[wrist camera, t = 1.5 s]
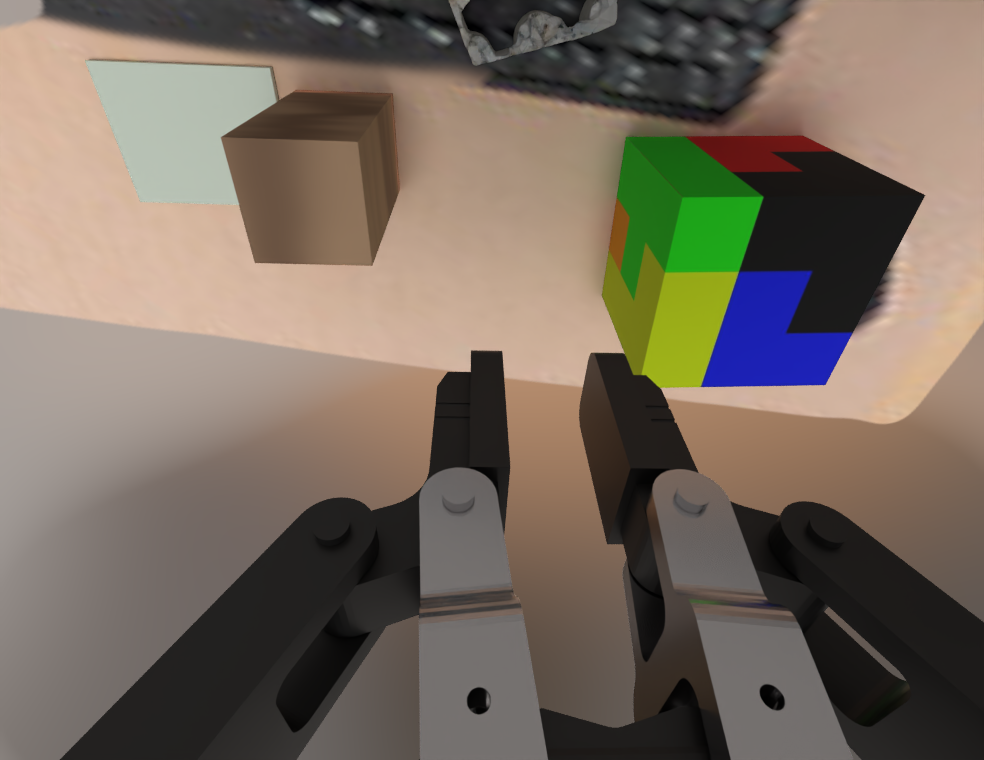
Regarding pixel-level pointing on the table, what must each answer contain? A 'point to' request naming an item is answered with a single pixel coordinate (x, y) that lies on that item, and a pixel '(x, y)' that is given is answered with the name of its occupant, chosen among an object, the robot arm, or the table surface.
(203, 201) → the sage pad
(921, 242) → the table surface
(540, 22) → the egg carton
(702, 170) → the puzzle toy
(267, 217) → the walnut block
